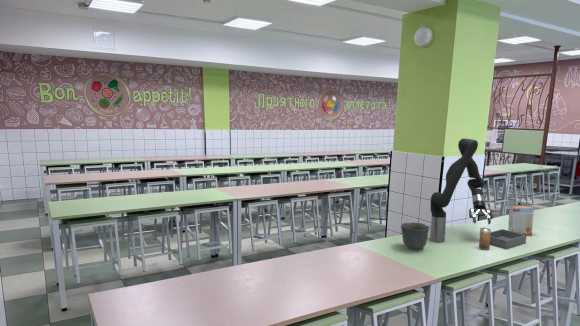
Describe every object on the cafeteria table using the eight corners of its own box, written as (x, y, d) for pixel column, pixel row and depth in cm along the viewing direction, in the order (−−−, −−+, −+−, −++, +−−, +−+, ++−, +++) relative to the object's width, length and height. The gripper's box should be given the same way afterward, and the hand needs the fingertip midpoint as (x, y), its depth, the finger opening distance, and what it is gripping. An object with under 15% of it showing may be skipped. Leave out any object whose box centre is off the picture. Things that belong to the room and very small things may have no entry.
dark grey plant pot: (431, 254, 219) (432, 230, 218) (401, 252, 223) (402, 229, 221) (426, 244, 237) (427, 222, 235) (398, 243, 240) (399, 221, 239)
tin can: (480, 249, 228) (481, 230, 227) (477, 246, 234) (479, 227, 232) (490, 250, 227) (492, 230, 225) (488, 247, 232) (489, 228, 231)
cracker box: (527, 233, 262) (529, 205, 259) (532, 236, 256) (534, 207, 253) (507, 232, 263) (509, 205, 261) (511, 235, 257) (513, 207, 255)
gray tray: (505, 249, 229) (506, 241, 228) (481, 242, 242) (482, 234, 242) (525, 243, 241) (526, 235, 240) (501, 236, 255) (502, 229, 254)
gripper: (468, 199, 245) (471, 219, 235) (491, 200, 241) (495, 221, 232) (466, 205, 251) (469, 225, 241) (488, 206, 247) (492, 226, 237)
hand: (482, 223), depth 236 cm, fingers open, 8 cm apart
